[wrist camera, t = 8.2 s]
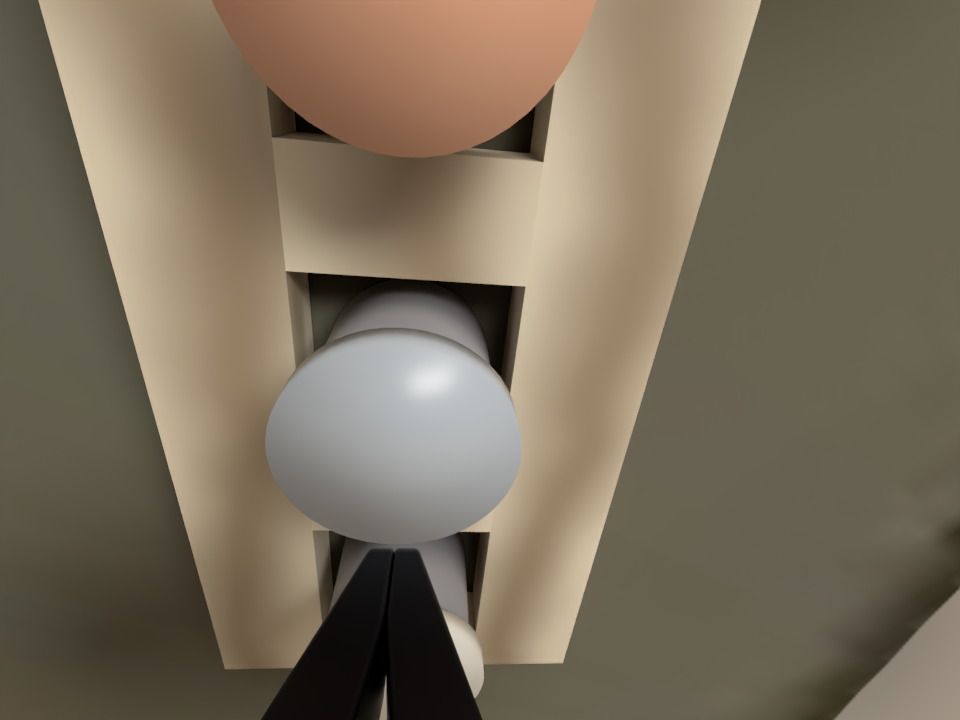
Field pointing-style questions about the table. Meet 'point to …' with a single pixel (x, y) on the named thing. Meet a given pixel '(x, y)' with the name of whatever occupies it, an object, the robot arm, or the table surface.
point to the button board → (393, 254)
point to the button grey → (396, 420)
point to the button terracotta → (408, 64)
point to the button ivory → (449, 586)
